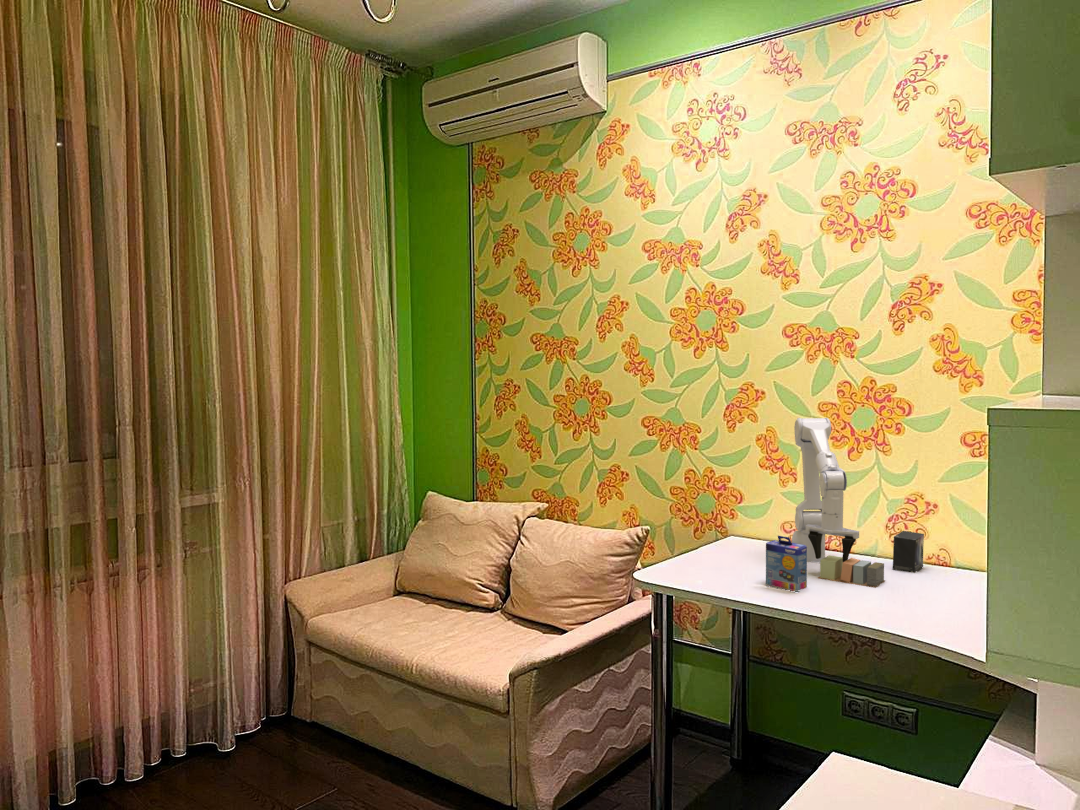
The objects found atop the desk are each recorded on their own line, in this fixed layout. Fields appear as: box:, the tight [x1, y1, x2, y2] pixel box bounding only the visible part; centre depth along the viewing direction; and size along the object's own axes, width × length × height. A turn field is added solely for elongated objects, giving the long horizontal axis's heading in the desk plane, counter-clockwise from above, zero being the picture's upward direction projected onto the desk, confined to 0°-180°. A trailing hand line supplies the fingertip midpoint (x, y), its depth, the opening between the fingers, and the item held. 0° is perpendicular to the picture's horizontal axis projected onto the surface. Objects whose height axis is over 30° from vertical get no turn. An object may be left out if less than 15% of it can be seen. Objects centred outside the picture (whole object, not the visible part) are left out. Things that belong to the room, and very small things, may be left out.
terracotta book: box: [840, 557, 862, 582], centre depth 232 cm, size 3×7×5 cm, turn 141°
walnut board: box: [817, 576, 886, 589], centre depth 232 cm, size 16×9×1 cm, turn 51°
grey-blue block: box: [853, 559, 872, 585], centre depth 230 cm, size 3×7×5 cm, turn 141°
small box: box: [891, 530, 925, 574], centre depth 244 cm, size 11×6×10 cm, turn 143°
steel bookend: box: [867, 561, 885, 588], centre depth 228 cm, size 2×7×5 cm, turn 141°
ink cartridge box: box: [765, 535, 808, 593], centre depth 226 cm, size 10×6×14 cm, turn 45°
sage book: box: [819, 554, 843, 580], centre depth 235 cm, size 4×7×5 cm, turn 141°
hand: (831, 560), depth 235 cm, fingers open, 7 cm apart
